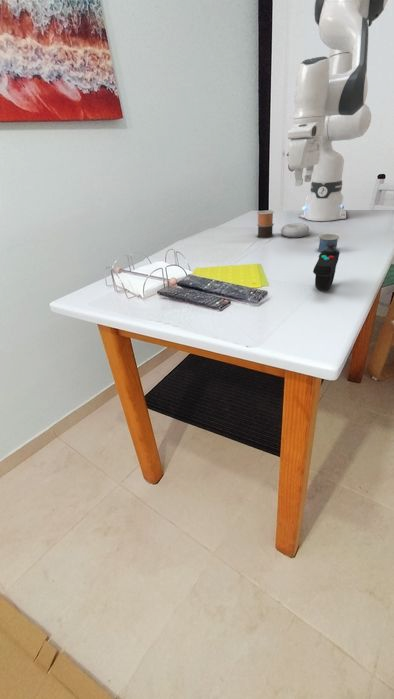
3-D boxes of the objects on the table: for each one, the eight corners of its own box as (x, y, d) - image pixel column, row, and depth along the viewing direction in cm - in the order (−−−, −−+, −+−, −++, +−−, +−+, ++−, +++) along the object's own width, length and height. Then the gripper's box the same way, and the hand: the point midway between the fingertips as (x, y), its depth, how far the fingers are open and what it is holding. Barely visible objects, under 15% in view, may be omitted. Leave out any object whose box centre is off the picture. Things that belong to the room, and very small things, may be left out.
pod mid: (260, 222, 127) (260, 210, 124) (275, 222, 124) (276, 210, 122) (254, 225, 123) (254, 213, 120) (270, 226, 120) (270, 213, 118)
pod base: (260, 233, 129) (260, 222, 127) (275, 234, 126) (275, 222, 124) (254, 237, 125) (255, 225, 123) (269, 238, 122) (270, 226, 120)
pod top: (319, 247, 109) (321, 233, 107) (338, 248, 106) (340, 234, 104) (315, 252, 105) (317, 238, 103) (335, 253, 102) (337, 239, 100)
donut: (281, 239, 121) (310, 238, 119) (281, 229, 119) (311, 228, 117) (280, 232, 129) (308, 231, 127) (281, 223, 127) (308, 221, 125)
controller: (336, 281, 84) (342, 241, 78) (328, 301, 75) (334, 257, 69) (318, 280, 85) (323, 240, 80) (308, 299, 76) (313, 255, 71)
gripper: (307, 130, 105) (302, 179, 113) (285, 131, 91) (282, 188, 98) (328, 128, 102) (322, 179, 110) (309, 129, 88) (304, 187, 95)
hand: (303, 183), depth 104 cm, fingers open, 8 cm apart
